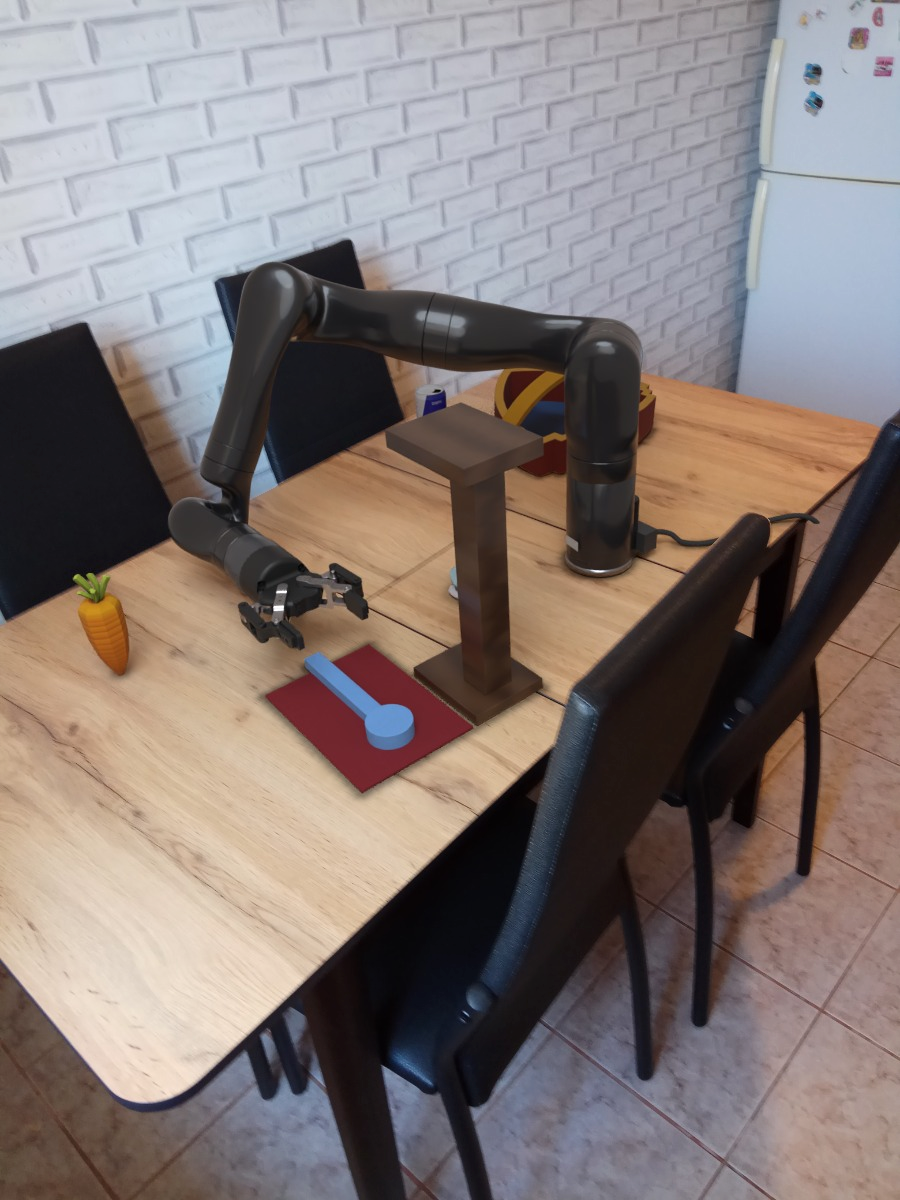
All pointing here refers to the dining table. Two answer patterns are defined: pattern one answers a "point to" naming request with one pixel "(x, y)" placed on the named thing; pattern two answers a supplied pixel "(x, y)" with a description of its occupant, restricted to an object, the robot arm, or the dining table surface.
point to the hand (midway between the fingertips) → (334, 627)
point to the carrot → (104, 622)
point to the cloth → (345, 730)
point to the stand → (474, 552)
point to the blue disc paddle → (366, 706)
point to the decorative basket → (549, 413)
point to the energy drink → (429, 399)
